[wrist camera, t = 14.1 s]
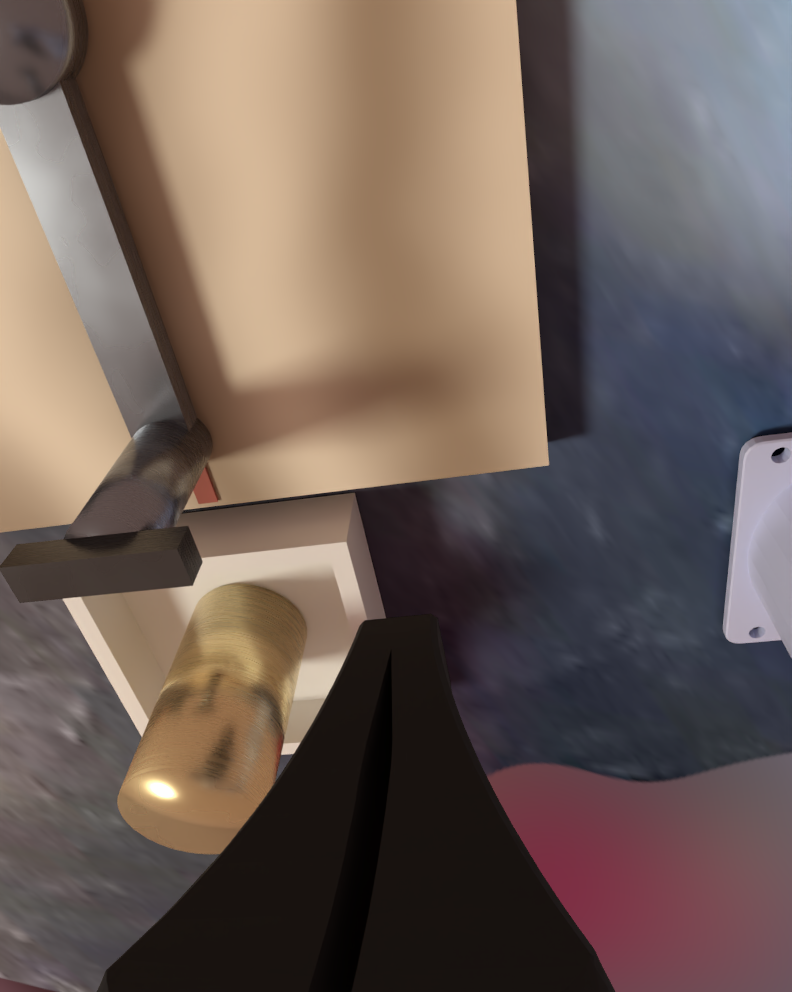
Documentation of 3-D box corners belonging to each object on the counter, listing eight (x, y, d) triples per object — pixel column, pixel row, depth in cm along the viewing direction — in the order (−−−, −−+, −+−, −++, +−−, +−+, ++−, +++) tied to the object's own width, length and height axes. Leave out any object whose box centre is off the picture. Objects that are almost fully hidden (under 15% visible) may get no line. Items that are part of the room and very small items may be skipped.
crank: (-116, -57, 14) (-399, -86, 9) (74, -102, 14) (-121, -156, 9) (122, 478, 21) (29, 619, 16) (255, 462, 20) (200, 603, 16)
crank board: (485, -345, 13) (489, -377, 12) (544, 444, 21) (549, 467, 20) (-380, -106, 15) (-443, -113, 14) (-11, 513, 24) (-32, 538, 23)
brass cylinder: (280, 574, 24) (227, 761, 18) (323, 656, 26) (288, 846, 20) (172, 596, 25) (89, 781, 19) (223, 673, 27) (161, 860, 21)
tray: (354, 492, 23) (346, 541, 21) (404, 690, 28) (401, 746, 26) (82, 525, 24) (48, 574, 22) (177, 709, 29) (157, 763, 27)
